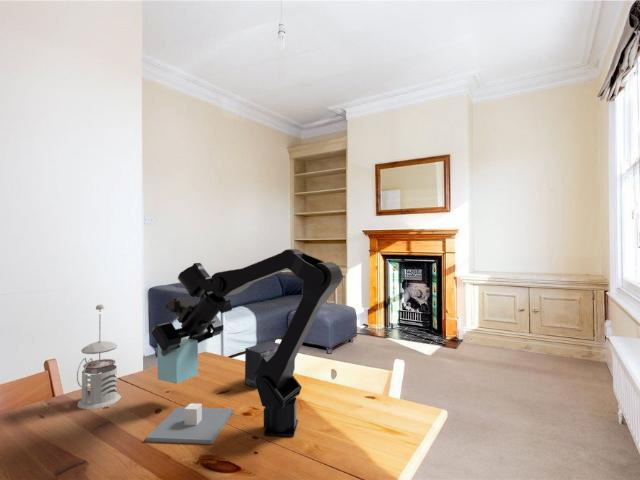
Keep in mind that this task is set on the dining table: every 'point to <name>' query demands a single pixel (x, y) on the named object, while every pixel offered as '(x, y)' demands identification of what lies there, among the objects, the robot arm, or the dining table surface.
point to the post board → (191, 425)
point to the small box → (256, 359)
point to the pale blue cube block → (179, 362)
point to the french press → (98, 376)
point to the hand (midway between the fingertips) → (174, 350)
